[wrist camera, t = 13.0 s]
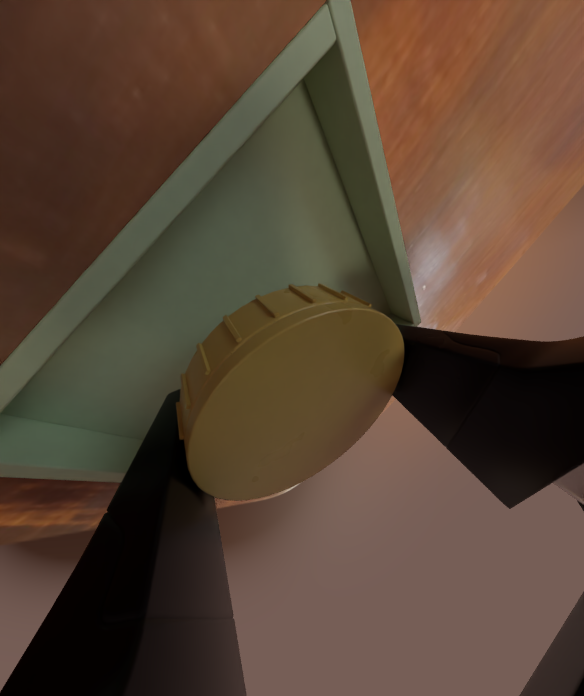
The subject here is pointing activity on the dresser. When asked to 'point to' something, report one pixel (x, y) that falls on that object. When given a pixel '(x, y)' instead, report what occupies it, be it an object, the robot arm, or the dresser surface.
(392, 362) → the lid
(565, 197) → the dresser surface
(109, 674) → the robot arm
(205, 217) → the tray
